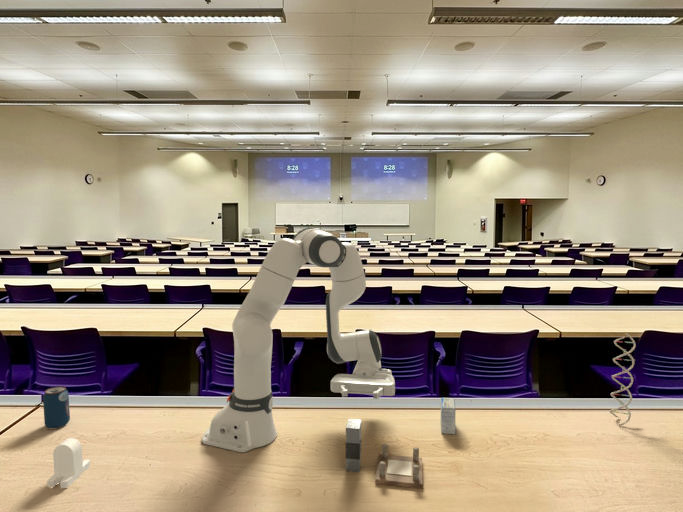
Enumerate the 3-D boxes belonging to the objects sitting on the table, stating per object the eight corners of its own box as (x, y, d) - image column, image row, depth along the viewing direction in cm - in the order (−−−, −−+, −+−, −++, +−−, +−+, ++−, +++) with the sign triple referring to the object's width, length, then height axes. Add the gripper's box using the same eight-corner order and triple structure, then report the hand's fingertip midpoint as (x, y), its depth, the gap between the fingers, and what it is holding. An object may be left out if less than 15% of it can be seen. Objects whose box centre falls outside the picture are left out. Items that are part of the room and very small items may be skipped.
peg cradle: (375, 483, 111) (375, 466, 110) (379, 457, 122) (379, 442, 122) (422, 488, 109) (423, 471, 108) (421, 461, 120) (422, 446, 120)
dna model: (608, 416, 148) (614, 331, 146) (631, 421, 145) (637, 334, 142) (607, 423, 143) (612, 335, 140) (630, 429, 139) (636, 338, 136)
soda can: (74, 423, 142) (72, 388, 141) (51, 432, 136) (48, 395, 135) (63, 417, 146) (61, 383, 145) (40, 426, 140) (38, 390, 139)
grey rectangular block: (345, 472, 115) (345, 427, 114) (348, 461, 121) (348, 418, 119) (359, 474, 115) (359, 428, 114) (361, 463, 120) (361, 419, 119)
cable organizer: (46, 488, 108) (44, 451, 107) (72, 465, 118) (70, 431, 117) (67, 489, 108) (64, 451, 107) (91, 466, 118) (89, 431, 117)
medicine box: (455, 435, 135) (456, 408, 135) (440, 433, 136) (441, 407, 135) (453, 423, 143) (454, 398, 142) (440, 421, 144) (440, 397, 143)
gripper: (334, 366, 143) (325, 382, 130) (396, 370, 140) (394, 387, 126) (334, 385, 144) (325, 403, 130) (396, 389, 140) (393, 407, 127)
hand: (360, 395), depth 128 cm, fingers open, 8 cm apart
